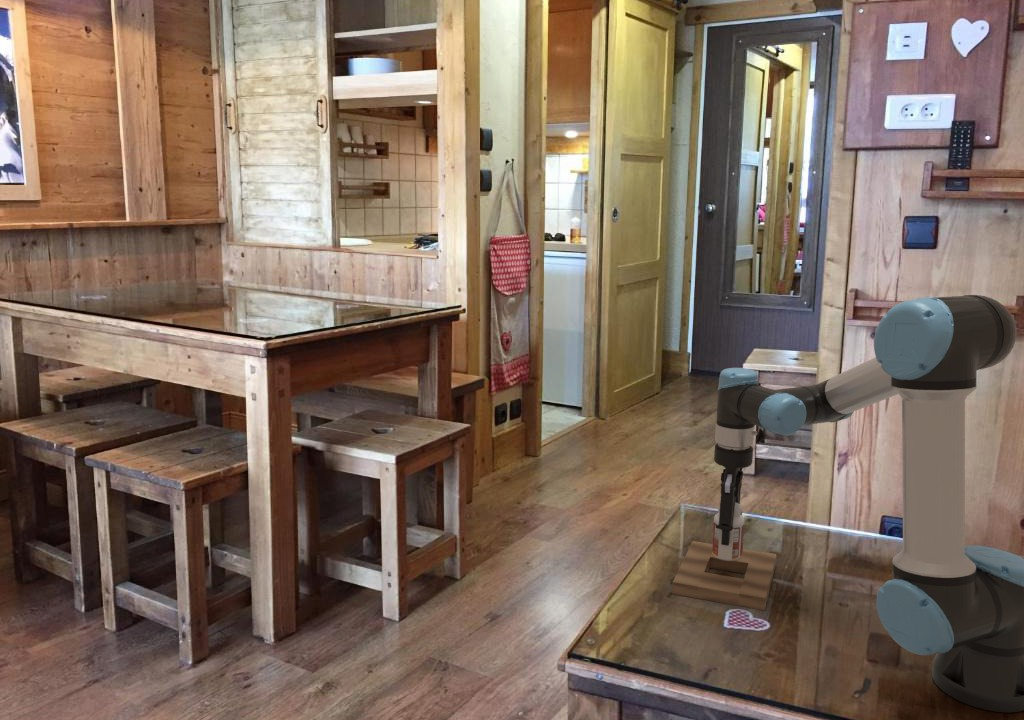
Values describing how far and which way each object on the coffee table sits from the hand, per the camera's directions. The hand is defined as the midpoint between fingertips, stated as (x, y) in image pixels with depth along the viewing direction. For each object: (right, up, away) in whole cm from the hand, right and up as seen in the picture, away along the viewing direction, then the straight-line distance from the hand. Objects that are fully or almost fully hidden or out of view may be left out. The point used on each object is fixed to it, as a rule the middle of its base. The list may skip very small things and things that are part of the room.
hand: (727, 551), depth 181 cm
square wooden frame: (0, -6, +1) cm, 6 cm away
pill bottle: (0, -1, 0) cm, 1 cm away
